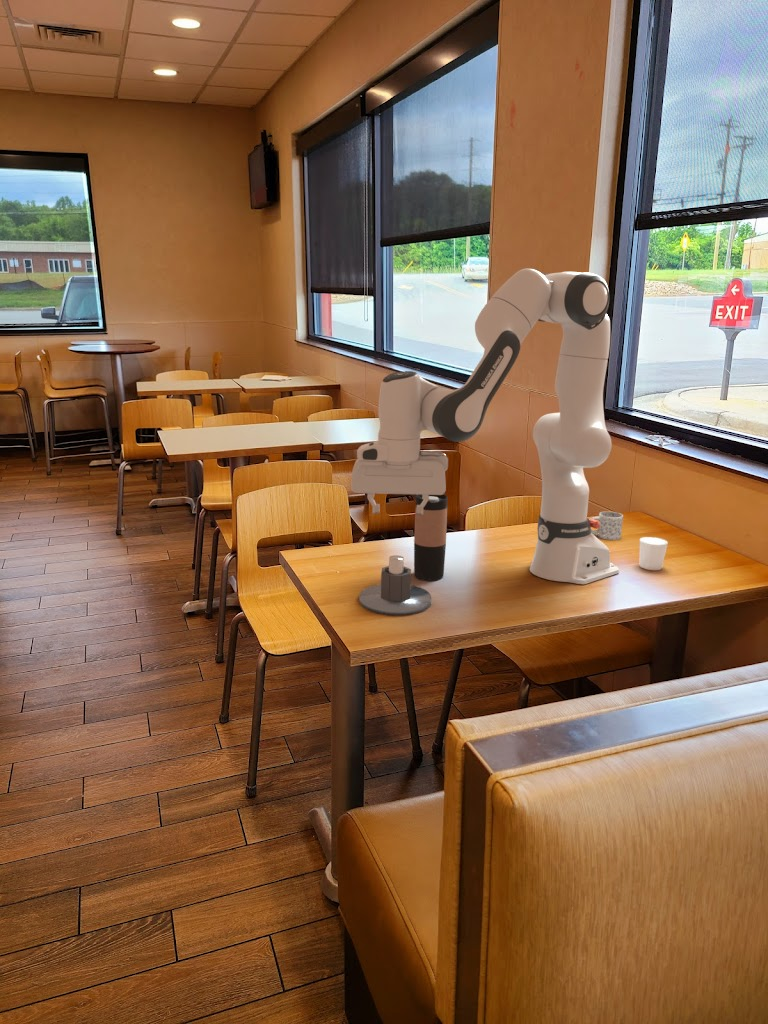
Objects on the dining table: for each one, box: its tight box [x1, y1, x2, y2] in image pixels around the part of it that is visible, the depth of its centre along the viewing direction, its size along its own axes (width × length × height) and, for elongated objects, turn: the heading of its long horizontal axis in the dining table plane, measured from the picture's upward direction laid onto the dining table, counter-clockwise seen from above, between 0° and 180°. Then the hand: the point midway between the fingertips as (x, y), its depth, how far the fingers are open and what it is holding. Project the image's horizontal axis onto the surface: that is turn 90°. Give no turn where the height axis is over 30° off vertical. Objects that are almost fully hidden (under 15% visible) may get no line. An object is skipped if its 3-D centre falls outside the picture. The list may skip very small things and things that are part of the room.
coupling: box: [380, 565, 412, 602], centre depth 167 cm, size 6×6×6 cm
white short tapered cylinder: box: [638, 536, 669, 571], centre depth 193 cm, size 7×7×7 cm
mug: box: [588, 510, 624, 541], centre depth 218 cm, size 10×7×7 cm, turn 94°
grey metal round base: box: [358, 554, 432, 616], centre depth 167 cm, size 16×16×10 cm
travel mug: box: [413, 493, 448, 582], centre depth 182 cm, size 8×8×20 cm
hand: (397, 513), depth 163 cm, fingers open, 8 cm apart
